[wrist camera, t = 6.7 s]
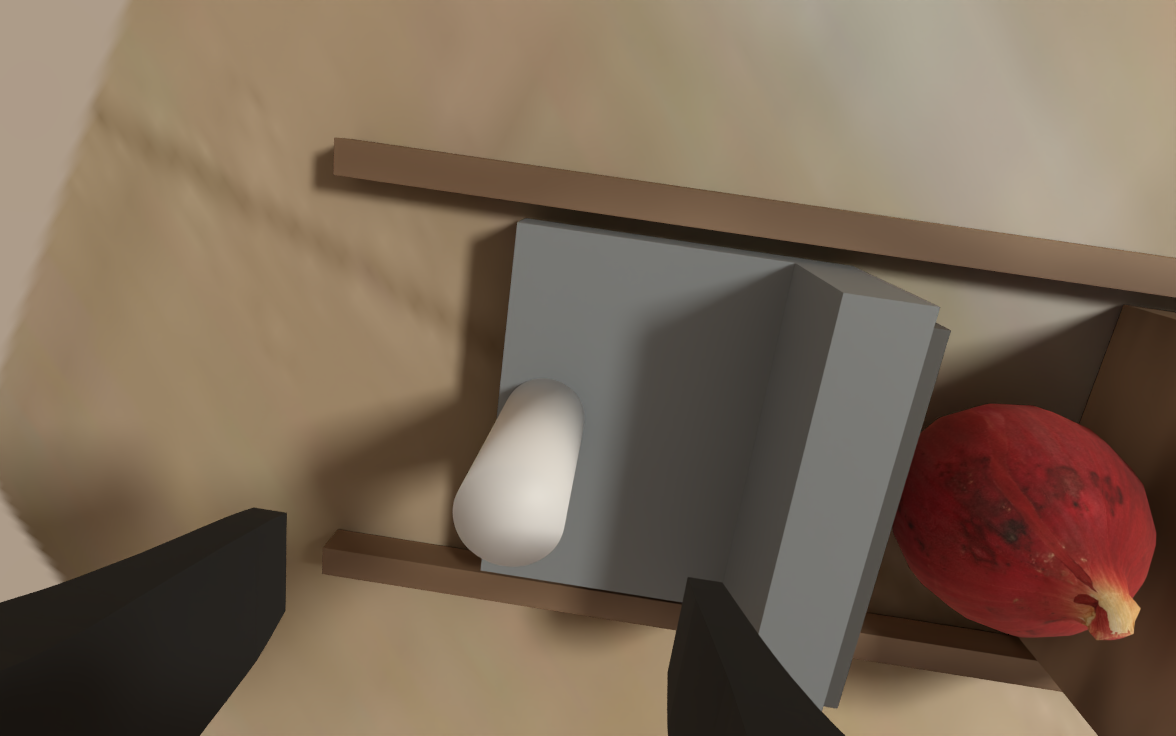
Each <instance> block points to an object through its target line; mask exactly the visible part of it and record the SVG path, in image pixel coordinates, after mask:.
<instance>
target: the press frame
mask: <svg viewBox="0 0 1176 736" xmlns="http://www.w3.org/2000/svg"><path fill="white" fill-rule="evenodd" d="M333 175H338V176H345V177H352V178H358V179H365V180H372V181H379V182H386V183H393V184H400V185H407V186H413V187H420V188H427V189H434V190H441V191H448V192H455V193H462V194H468V195H475V196H482V197H489V198H496V199H503V200H510V201H517V202H523V203H530V204H537V205H544V206H551V207H558V208H565V209H571V210H578V211H585V212H592V213H599V214H606V215H613V216H620V217H626V218H633V219H640V220H647V221H654V222H661V223H668V224H675V225H681V226H688V227H695V228H702V229H709V230H716V231H723V232H730V233H736V234H743V235H750V236H757V237H764V238H771V239H778V240H784V241H791V242H798V243H805V244H812V245H819V246H826V247H833V248H839V249H846V250H853V251H860V252H867V253H874V254H881V255H888V256H894V257H901V258H908V259H915V260H922V261H929V262H936V263H942V264H949V265H956V266H963V267H970V268H977V269H984V270H991V271H997V272H1004V273H1011V274H1018V275H1025V276H1032V277H1039V278H1046V279H1052V280H1059V281H1066V282H1073V283H1080V284H1087V285H1094V286H1101V287H1107V288H1114V289H1121V290H1128V291H1135V292H1142V293H1149V294H1155V295H1162V296H1169V297H1176V258H1173V257H1166V256H1159V255H1152V254H1145V253H1138V252H1131V251H1124V250H1117V249H1110V248H1103V247H1096V246H1089V245H1083V244H1076V243H1069V242H1062V241H1055V240H1048V239H1041V238H1034V237H1027V236H1020V235H1013V234H1006V233H999V232H992V231H985V230H979V229H972V228H965V227H958V226H951V225H944V224H937V223H930V222H923V221H916V220H909V219H902V218H895V217H888V216H881V215H875V214H868V213H861V212H854V211H847V210H840V209H833V208H826V207H819V206H812V205H805V204H798V203H791V202H784V201H777V200H771V199H764V198H757V197H750V196H743V195H736V194H729V193H722V192H715V191H708V190H701V189H694V188H687V187H680V186H673V185H667V184H660V183H653V182H646V181H639V180H632V179H625V178H618V177H611V176H604V175H597V174H590V173H583V172H576V171H569V170H562V169H556V168H549V167H542V166H535V165H528V164H521V163H514V162H507V161H500V160H493V159H486V158H479V157H472V156H465V155H458V154H452V153H445V152H438V151H431V150H424V149H417V148H410V147H403V146H396V145H389V144H382V143H375V142H368V141H361V140H354V139H345V138H334V170H333ZM1080 425H1082V426H1085V427H1087V428H1089V429H1090V430H1092V431H1093V432H1094V433H1095V434H1097V435H1098V436H1099V437H1100V438H1101V439H1103V440H1104V441H1105V442H1106V443H1107V444H1108V445H1109V446H1110V447H1111V448H1112V449H1113V450H1114V451H1115V452H1116V453H1117V454H1118V455H1119V456H1120V457H1121V458H1122V459H1123V460H1124V461H1125V462H1126V463H1127V464H1128V465H1129V466H1130V467H1131V468H1132V470H1133V471H1134V472H1135V474H1136V475H1137V477H1138V478H1139V479H1140V481H1141V482H1142V484H1143V485H1144V489H1145V492H1146V496H1147V499H1148V503H1149V507H1150V511H1151V514H1152V518H1153V522H1154V526H1155V530H1156V546H1155V549H1154V553H1153V556H1152V560H1151V563H1150V567H1149V570H1148V574H1147V577H1146V579H1145V581H1144V583H1143V584H1142V586H1141V587H1140V589H1139V590H1138V591H1137V593H1136V594H1135V596H1134V597H1133V600H1134V601H1135V602H1136V603H1137V605H1138V606H1139V607H1140V608H1141V609H1140V611H1139V613H1138V616H1137V618H1136V620H1135V625H1134V634H1132V635H1129V636H1127V637H1124V638H1120V639H1115V640H1096V639H1095V638H1094V637H1093V636H1092V635H1091V634H1090V632H1089V630H1085V631H1083V632H1080V633H1078V634H1074V635H1071V636H1056V637H1036V638H1021V637H1017V636H1010V635H1004V634H998V633H991V632H985V631H979V630H972V629H966V628H960V627H953V626H947V625H941V624H934V623H928V622H922V621H915V620H909V619H903V618H896V617H890V616H884V615H877V614H871V613H866V615H865V618H864V622H863V625H862V628H861V632H860V635H859V638H858V642H857V645H856V648H855V652H854V655H853V659H860V660H866V661H872V662H879V663H885V664H891V665H897V666H904V667H910V668H916V669H923V670H929V671H935V672H941V673H948V674H954V675H960V676H966V677H973V678H979V679H985V680H992V681H998V682H1004V683H1010V684H1017V685H1023V686H1029V687H1035V688H1042V689H1048V690H1054V691H1061V692H1063V693H1064V694H1065V695H1066V697H1067V698H1068V699H1069V700H1070V702H1071V703H1072V704H1073V705H1074V706H1075V708H1076V709H1077V710H1078V711H1079V713H1080V714H1081V715H1082V716H1083V718H1084V719H1085V720H1086V721H1087V723H1088V724H1089V725H1090V726H1091V727H1092V729H1093V730H1094V731H1095V732H1096V734H1097V735H1098V736H1176V312H1172V311H1165V310H1158V309H1151V308H1145V307H1138V306H1131V305H1123V308H1122V311H1121V313H1120V316H1119V319H1118V321H1117V324H1116V327H1115V329H1114V332H1113V335H1112V337H1111V340H1110V343H1109V346H1108V348H1107V351H1106V354H1105V356H1104V359H1103V362H1102V364H1101V367H1100V370H1099V372H1098V375H1097V378H1096V380H1095V383H1094V386H1093V389H1092V391H1091V394H1090V397H1089V399H1088V402H1087V405H1086V407H1085V410H1084V413H1083V415H1082V418H1081V421H1080ZM481 562H482V558H480V557H478V556H477V555H475V554H474V553H473V552H472V551H470V550H465V549H459V548H453V547H446V546H440V545H434V544H427V543H421V542H415V541H408V540H402V539H396V538H389V537H383V536H377V535H370V534H364V533H358V532H351V531H345V530H337V531H336V532H335V534H334V535H333V536H332V537H331V539H330V540H329V541H328V542H327V543H326V545H325V546H324V547H323V565H322V574H326V575H333V576H339V577H345V578H352V579H358V580H364V581H370V582H377V583H383V584H389V585H395V586H402V587H408V588H414V589H421V590H427V591H433V592H439V593H446V594H452V595H458V596H464V597H471V598H477V599H483V600H490V601H496V602H502V603H508V604H515V605H521V606H527V607H533V608H540V609H546V610H552V611H559V612H565V613H571V614H577V615H584V616H590V617H596V618H603V619H609V620H615V621H621V622H628V623H634V624H640V625H646V626H653V627H659V628H665V629H672V630H677V626H678V621H679V616H680V611H681V606H682V602H677V601H670V600H664V599H658V598H652V597H645V596H639V595H633V594H626V593H620V592H614V591H607V590H601V589H595V588H588V587H582V586H576V585H569V584H563V583H557V582H551V581H544V580H538V579H532V578H525V577H519V576H513V575H506V574H500V573H494V572H487V571H481Z"/></svg>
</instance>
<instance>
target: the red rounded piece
mask: <svg viewBox="0 0 1176 736" xmlns="http://www.w3.org/2000/svg"><path fill="white" fill-rule="evenodd" d="M892 528H893V533H894V536H895V538H896V540H897V542H898V544H899V547H900V549H901V551H902V553H903V555H904V557H905V559H906V562H907V564H908V566H909V568H910V569H911V570H912V572H913V573H914V574H915V576H916V577H917V578H918V580H919V581H920V582H921V583H922V584H923V585H924V586H925V587H926V588H928V589H929V590H930V591H931V592H933V593H934V594H935V595H936V596H937V597H939V598H940V599H941V600H942V601H944V602H945V603H946V604H947V605H948V606H950V607H951V608H952V609H954V610H955V611H957V612H958V613H960V614H961V615H963V616H964V617H966V618H967V619H970V620H972V621H975V622H977V623H980V624H983V625H985V626H988V627H990V628H993V629H996V630H998V631H1001V632H1004V633H1006V634H1010V635H1013V636H1017V637H1021V638H1036V637H1056V636H1071V635H1074V634H1078V633H1080V632H1083V631H1085V630H1089V632H1090V634H1091V635H1092V636H1093V637H1094V638H1095V639H1096V640H1115V639H1120V638H1124V637H1127V636H1129V635H1132V634H1134V625H1135V620H1136V618H1137V616H1138V613H1139V611H1140V609H1141V608H1140V607H1139V606H1138V605H1137V603H1136V602H1135V601H1134V600H1133V597H1134V596H1135V594H1136V593H1137V591H1138V590H1139V589H1140V587H1141V586H1142V584H1143V583H1144V581H1145V579H1146V577H1147V574H1148V570H1149V567H1150V563H1151V560H1152V556H1153V553H1154V549H1155V546H1156V530H1155V526H1154V522H1153V518H1152V514H1151V511H1150V507H1149V503H1148V499H1147V496H1146V492H1145V489H1144V485H1143V484H1142V482H1141V481H1140V479H1139V478H1138V477H1137V475H1136V474H1135V472H1134V471H1133V470H1132V468H1131V467H1130V466H1129V465H1128V464H1127V463H1126V462H1125V461H1124V460H1123V459H1122V458H1121V457H1120V456H1119V455H1118V454H1117V453H1116V452H1115V451H1114V450H1113V449H1112V448H1111V447H1110V446H1109V445H1108V444H1107V443H1106V442H1105V441H1104V440H1103V439H1101V438H1100V437H1099V436H1098V435H1097V434H1095V433H1094V432H1093V431H1092V430H1090V429H1089V428H1087V427H1085V426H1082V425H1080V424H1078V423H1076V422H1074V421H1071V420H1069V419H1067V418H1065V417H1062V416H1060V415H1058V414H1056V413H1054V412H1051V411H1048V410H1045V409H1042V408H1039V407H1036V406H1032V405H1011V404H985V405H981V406H977V407H974V408H970V409H967V410H963V411H960V412H957V413H953V414H950V415H947V416H943V417H940V418H938V419H937V420H936V421H934V422H933V423H932V424H931V425H929V426H928V427H927V428H926V429H925V430H923V431H922V432H921V433H920V435H919V439H918V442H917V445H916V449H915V452H914V455H913V459H912V462H911V465H910V469H909V472H908V475H907V479H906V482H905V485H904V489H903V492H902V495H901V499H900V502H899V505H898V509H897V512H896V515H895V519H894V522H893V525H892Z"/></svg>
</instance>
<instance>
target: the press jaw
mask: <svg viewBox="0 0 1176 736" xmlns="http://www.w3.org/2000/svg"><path fill="white" fill-rule="evenodd" d="M939 309H940V307H939V306H937V305H935V304H933V303H930V302H928V301H926V300H924V299H922V298H920V297H918V296H915V295H913V294H911V293H909V292H907V291H905V290H903V289H901V288H898V287H896V286H894V285H892V284H890V283H888V282H886V281H884V280H881V279H879V278H877V277H875V276H873V275H871V274H869V273H867V272H864V271H862V270H860V269H858V268H856V267H854V266H850V265H843V264H836V263H830V262H823V261H816V260H809V259H802V258H795V257H789V256H782V255H775V254H768V253H761V252H754V251H747V250H741V249H734V248H727V247H720V246H713V245H706V244H700V243H693V242H686V241H679V240H672V239H665V238H658V237H652V236H645V235H638V234H631V233H624V232H617V231H611V230H604V229H597V228H590V227H583V226H576V225H569V224H563V223H556V222H549V221H542V220H535V219H528V218H525V219H523V220H521V221H519V222H517V230H516V240H515V249H514V258H513V268H512V277H511V287H510V296H509V306H508V315H507V325H506V334H505V344H504V353H503V363H502V372H501V382H500V391H499V401H498V410H497V420H496V422H495V424H494V425H493V427H492V429H491V431H490V433H489V435H488V436H487V438H486V440H485V442H484V444H483V446H482V448H481V449H480V451H479V453H478V455H477V457H476V459H475V460H474V462H473V464H472V466H471V468H470V470H469V472H468V473H467V475H466V477H465V479H464V481H463V483H462V485H461V486H460V488H459V490H458V492H457V494H456V497H455V500H454V504H453V521H454V525H455V529H456V531H457V533H458V535H459V537H460V539H461V540H462V542H463V543H464V544H465V545H466V547H467V548H468V549H469V550H470V551H472V552H473V553H474V554H475V555H477V556H478V557H480V558H482V562H481V571H487V572H494V573H500V574H506V575H513V576H519V577H525V578H532V579H538V580H544V581H551V582H557V583H563V584H569V585H576V586H582V587H588V588H595V589H601V590H607V591H614V592H620V593H626V594H633V595H639V596H645V597H652V598H658V599H664V600H670V601H677V602H683V597H684V592H685V587H686V583H687V578H688V577H692V578H698V579H704V580H711V581H717V582H722V583H723V584H724V586H725V587H726V588H727V590H728V591H729V593H730V594H731V595H732V597H733V598H734V600H735V601H736V603H737V604H738V606H739V607H740V608H741V610H742V611H743V613H744V614H745V616H746V617H747V619H748V620H749V621H750V623H751V624H752V626H753V627H754V628H755V630H756V631H757V633H758V634H759V635H760V637H761V638H762V640H763V641H764V642H765V644H766V645H767V646H768V648H769V649H770V650H771V652H772V653H773V654H774V656H775V657H776V658H777V659H778V661H779V662H780V663H781V665H782V666H783V667H784V668H785V670H786V671H787V672H788V673H789V675H790V676H791V677H792V678H793V679H794V681H795V682H796V683H797V684H798V685H799V686H800V688H801V689H802V690H803V691H804V692H805V693H806V694H807V696H808V697H809V698H810V699H811V700H812V701H813V703H814V704H815V705H816V706H817V707H818V708H819V709H820V710H821V711H822V709H823V706H825V707H831V708H838V705H839V702H840V698H841V695H842V692H843V688H844V685H845V682H846V678H847V675H848V672H849V668H850V665H851V662H852V658H853V655H854V652H855V648H856V645H857V642H858V638H859V635H860V632H861V628H862V625H863V622H864V618H865V615H866V612H867V608H868V605H869V602H870V598H871V595H872V592H873V588H874V585H875V582H876V578H877V575H878V572H879V569H880V565H881V562H882V559H883V555H884V552H885V549H886V545H887V542H888V539H889V535H890V532H891V529H892V525H893V522H894V519H895V515H896V512H897V509H898V505H899V502H900V499H901V495H902V492H903V489H904V485H905V482H906V479H907V475H908V472H909V469H910V465H911V462H912V459H913V455H914V452H915V449H916V445H917V442H918V439H919V435H920V432H921V429H922V425H923V422H924V419H925V415H926V412H927V409H928V405H929V402H930V399H931V395H932V392H933V389H934V385H935V382H936V379H937V375H938V372H939V369H940V365H941V362H942V359H943V355H944V352H945V349H946V345H947V342H948V339H949V335H950V332H951V330H949V329H947V328H945V327H943V326H941V325H939V324H938V323H936V319H937V316H938V312H939Z"/></svg>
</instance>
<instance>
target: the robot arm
mask: <svg viewBox="0 0 1176 736" xmlns="http://www.w3.org/2000/svg"><path fill="white" fill-rule="evenodd" d="M286 525H287V513H284V512H278V511H271V510H265V509H259V508H251V509H248V510H245V511H242V512H239V513H236V514H234V515H231V516H228V517H226V518H223V519H221V520H219V521H216V522H214V523H211V524H209V525H207V526H204V527H202V528H199V529H197V530H195V531H192V532H190V533H188V534H185V535H183V536H181V537H178V538H176V539H173V540H171V541H169V542H166V543H164V544H161V545H159V546H157V547H154V548H152V549H150V550H147V551H145V552H142V553H140V554H137V555H135V556H132V557H130V558H127V559H124V560H122V561H119V562H117V563H114V564H111V565H109V566H106V567H103V568H101V569H98V570H96V571H93V572H90V573H88V574H85V575H83V576H80V577H77V578H75V579H72V580H69V581H66V582H63V583H60V584H58V585H55V586H52V587H49V588H46V589H43V590H40V591H37V592H33V593H30V594H27V595H24V596H20V597H17V598H14V599H11V600H7V601H4V602H1V603H0V736H200V735H201V733H202V732H203V731H204V729H205V728H206V727H207V725H208V724H209V723H210V722H211V720H212V719H213V718H214V716H215V715H216V714H217V712H218V711H219V710H220V709H221V707H222V706H223V705H224V703H225V702H226V701H227V700H228V698H229V697H230V696H231V694H232V693H233V692H234V690H235V689H236V688H237V686H238V685H239V684H240V682H241V681H242V680H243V678H244V677H245V676H246V674H247V673H248V672H249V670H250V669H251V668H252V666H253V665H254V664H255V662H256V661H257V659H258V657H259V656H260V654H261V652H262V651H263V649H264V647H265V646H266V644H267V642H268V641H269V639H270V637H271V636H272V634H273V632H274V630H275V628H276V627H277V625H278V623H279V621H280V619H281V618H282V616H283V614H284V612H285V605H286ZM667 725H668V736H845V735H844V734H843V733H842V732H841V731H840V730H839V729H838V728H837V727H836V726H835V725H834V724H833V723H832V722H831V721H830V720H829V719H828V718H827V717H826V716H825V715H824V714H823V712H822V711H821V710H820V709H819V708H818V707H817V706H816V705H815V704H814V703H813V701H812V700H811V699H810V698H809V697H808V696H807V694H806V693H805V692H804V691H803V690H802V689H801V688H800V686H799V685H798V684H797V683H796V682H795V681H794V679H793V678H792V677H791V676H790V675H789V673H788V672H787V671H786V670H785V668H784V667H783V666H782V665H781V663H780V662H779V661H778V659H777V658H776V657H775V656H774V654H773V653H772V652H771V650H770V649H769V648H768V646H767V645H766V644H765V642H764V641H763V640H762V638H761V637H760V635H759V634H758V633H757V631H756V630H755V628H754V627H753V626H752V624H751V623H750V621H749V620H748V619H747V617H746V616H745V614H744V613H743V611H742V610H741V608H740V607H739V606H738V604H737V603H736V601H735V600H734V598H733V597H732V595H731V594H730V593H729V591H728V590H727V588H726V587H725V586H724V584H723V583H722V582H717V581H711V580H704V579H698V578H692V577H688V578H687V583H686V587H685V592H684V597H683V602H682V606H681V611H680V616H679V621H678V626H677V630H676V635H675V640H674V645H673V649H672V654H671V659H670V664H669V668H668V686H667Z"/></svg>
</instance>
